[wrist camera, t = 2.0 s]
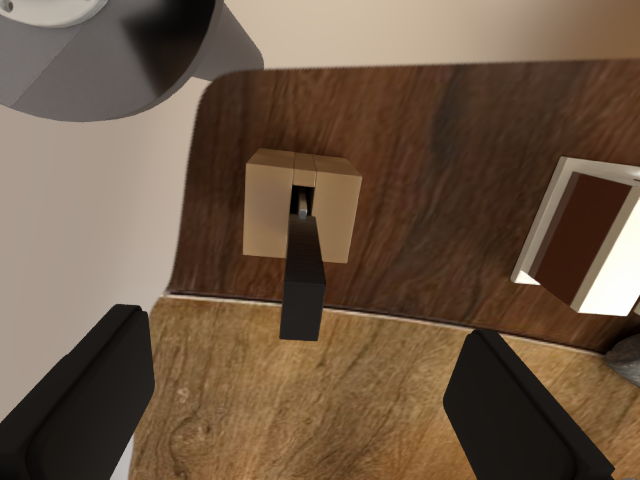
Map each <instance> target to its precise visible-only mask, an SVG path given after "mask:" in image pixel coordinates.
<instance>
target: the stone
mask: <svg viewBox="0 0 640 480" xmlns="http://www.w3.org/2000/svg"><path fill="white" fill-rule="evenodd" d="M605 362H606V363H607V365H608V366H609V367H610V368H611V369H613V370H614V371H615V372H616V373H618V374H620V375H621V376H622V377H623V378H625V379H626V380H628V381H630V382H632V383H633V384H634V385H636V386H638V387H639V388H640V334H636V335H633V336H630V337H628V338H626V339H624V340H621V341H620V342H618V343H617V344H616V345H615V346H614V347H613V348H612V349H611V351H608V352H607V353H606V354H605Z"/></svg>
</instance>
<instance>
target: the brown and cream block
mask: <svg viewBox="0 0 640 480" xmlns="http://www.w3.org/2000/svg"><path fill="white" fill-rule="evenodd" d="M510 279H511V280H512V281H513V282H514V283H524V284H536V285H542V286H543V287H544V288H546V289H547V290H548V291H550V292H551V293H552V294H554V295H555V296H556V297H558V298H559V299H560V300H562V301H563V302H564V303H566V304H567V305H568V306H570V307H571V308H572V309H574V310H575V311H576V312H578V313H591V314H605V315H618V316H627V315H628V313H629V312H630V310H632V311H634V312H635V313H637V314H638V315H640V166H632V165H625V164H617V163H609V162H602V161H594V160H586V159H579V158H571V157H564V156H561V157H560V159H559V162H558V164H557V166H556V169H555V171H554V174H553V176H552V178H551V181H550V183H549V186H548V188H547V191H546V193H545V195H544V198H543V200H542V203H541V205H540V207H539V210H538V212H537V215H536V217H535V219H534V222H533V224H532V227H531V229H530V232H529V234H528V236H527V239H526V241H525V244H524V246H523V248H522V251H521V253H520V256H519V258H518V260H517V263H516V265H515V268H514V270H513V272H512V275H511V277H510Z"/></svg>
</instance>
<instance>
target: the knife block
mask: <svg viewBox="0 0 640 480" xmlns="http://www.w3.org/2000/svg"><path fill="white" fill-rule="evenodd" d="M361 181H362V176H361V175H360V174H359V173H358V171H357V170H356V169H355V168H354V167H353V166H352V165H351V163H350V162H349V161H348V160H347V159H346V158H340V157H332V156H324V155H315V154H306V153H298V152H290V151H282V150H274V149H266V148H259V149H258V150H257V151H256V153H255V154H254V155H253V156H252V157H251V159H250V160H249V161H248V162H247V163H246V179H245V208H244V237H243V255H254V256H266V257H278V258H285V257H286V248H287V238H288V227H289V216H290V214H296V212H290V203H291V192H292V184H293V185H298V186H307V187H308V196H307V216H315V217H316V222H317V228H318V235H319V241H320V248H321V254H322V261H325V262H337V263H347V259H348V253H349V248H350V242H351V237H352V231H353V226H354V220H355V214H356V209H357V203H358V198H359V192H360V187H361Z"/></svg>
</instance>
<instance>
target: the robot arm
mask: <svg viewBox="0 0 640 480" xmlns="http://www.w3.org/2000/svg"><path fill="white" fill-rule="evenodd" d="M107 1H108V0H0V14H1V15H3V16H5V17H7V18H9V19H11V20H14V21H18V22H21V23H24V24H28V25H31V26H37V27H43V28H66V27H70V26H74V25H77V24H81V23H82V22H84V21H86V20H88V19H89V18H91V17H93V16H94V15H95V14H96V13H97V12H98V11H99V10H101V9H102V8H103V7H104V6H105V5H106V3H107ZM154 387H155V380H154V370H153V360H152V350H151V339H150V329H149V319H148V313H147V312H146V311H142V309H141V307H140V306H138V305H125V304H116V305H115V306H113V307H112V308H111V309H110V310H109V311H108V312H107V313H106V314H105V315H104V316H103V318H102V319H101V320H100V321H99V322H98V323H97V324H96V325H95V326H94V327H93V328H92V329H91V330H90V331H89V333H88V334H87V335H86V336H85V337H84V338H83V339H82V340H81V341H80V342H79V343H78V344H77V345H76V347H74V349H73V350H72V351H71V352H70V353H69V354H67V355H65V356H64V357H63V358H62V359H61V360H60V361H59V362H58V363H57V364H56V365H55V366H54V367H53V368H52V369H51V370H50V371H49V372H48V373H47V374H46V375H45V376H44V378H43V379H42V380H41V381H40V382H39V383H38V384H37V385H36V386H35V387H34V388H33V389H32V390H31V391H30V392H29V393H28V394H27V395H26V396H25V397H24V399H23V400H22V401H21V402H20V403H19V404H18V405H17V406H16V407H15V408H14V409H13V410H12V411H11V412H10V413H9V415H7V416H6V418H5V419H4V420H3V421H2V422H1V423H0V480H110V477H111V476H112V474H113V472H114V470H115V468H116V466H117V464H118V462H119V460H120V458H121V456H122V454H123V452H124V450H125V448H126V446H127V444H128V442H129V441H130V439H131V437H132V435H133V433H134V431H135V429H136V427H137V425H138V423H139V421H140V419H141V417H142V415H143V413H144V411H145V409H146V407H147V405H148V403H149V401H150V400H151V397H152V395H153V392H154ZM443 406H444V409H445V412H446V414H447V416H448V418H449V420H450V422H451V425H452V427H453V429H454V431H455V433H456V435H457V437H458V439H459V441H460V444H461V446H462V448H463V450H464V452H465V454H466V456H467V458H468V461H469V463H470V465H471V467H472V469H473V471H474V473H475V475H476V478H477V480H614V479H613V478H612V476H611V474H612V473H613V471H614V470H615V467H614V466H613V465H612V464H611V463H610V462H609V461H608V459H607V458H606V457H605V456H604V455H603V454H602V452H601V451H600V450H599V449H598V448H597V447H596V446H595V444H594V443H593V442H592V441H591V440H590V439H589V437H588V436H587V435H586V434H585V433H584V432H583V431H582V429H581V428H580V427H579V426H578V425H577V424H576V422H575V421H574V420H573V419H572V418H571V417H570V416H569V414H568V413H567V412H566V411H565V410H564V409H563V407H562V406H561V405H560V404H559V403H558V402H557V401H556V399H555V398H554V397H553V396H552V395H551V394H550V392H549V391H548V390H547V389H546V388H545V387H544V386H543V384H542V383H541V382H540V381H539V380H538V379H537V377H536V376H535V375H534V374H533V373H532V372H531V371H530V369H529V368H528V367H527V366H526V365H525V364H524V362H523V361H522V360H521V359H520V358H519V357H518V356H517V354H516V353H515V352H514V351H513V350H512V349H511V347H510V346H509V345H508V344H507V343H506V342H505V341H504V339H503V338H502V337H501V336H500V335H499V334H498V333H497V332H496V331H493V330H480V329H476V330H473V331H472V333H471V334H468V335H467V336H466V339H465V341H464V344H463V347H462V349H461V352H460V354H459V357H458V360H457V362H456V365H455V368H454V370H453V373H452V376H451V378H450V381H449V384H448V386H447V389H446V392H445V394H444V397H443ZM622 480H637V479H633V478H626V479H622Z"/></svg>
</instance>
